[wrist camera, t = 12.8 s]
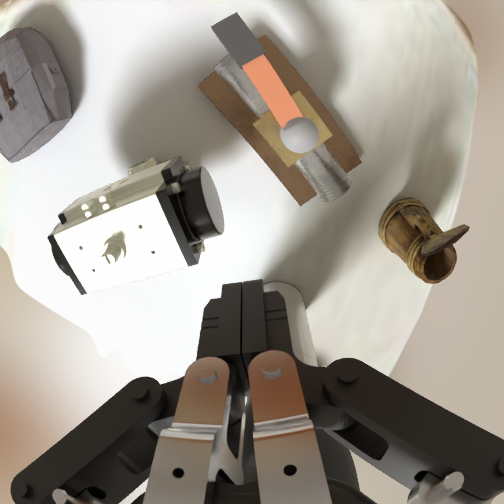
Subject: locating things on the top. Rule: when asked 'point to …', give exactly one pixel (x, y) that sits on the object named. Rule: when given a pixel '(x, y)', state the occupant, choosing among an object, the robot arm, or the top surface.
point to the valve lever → (267, 84)
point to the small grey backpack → (30, 94)
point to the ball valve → (138, 225)
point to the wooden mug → (420, 240)
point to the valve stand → (267, 127)
